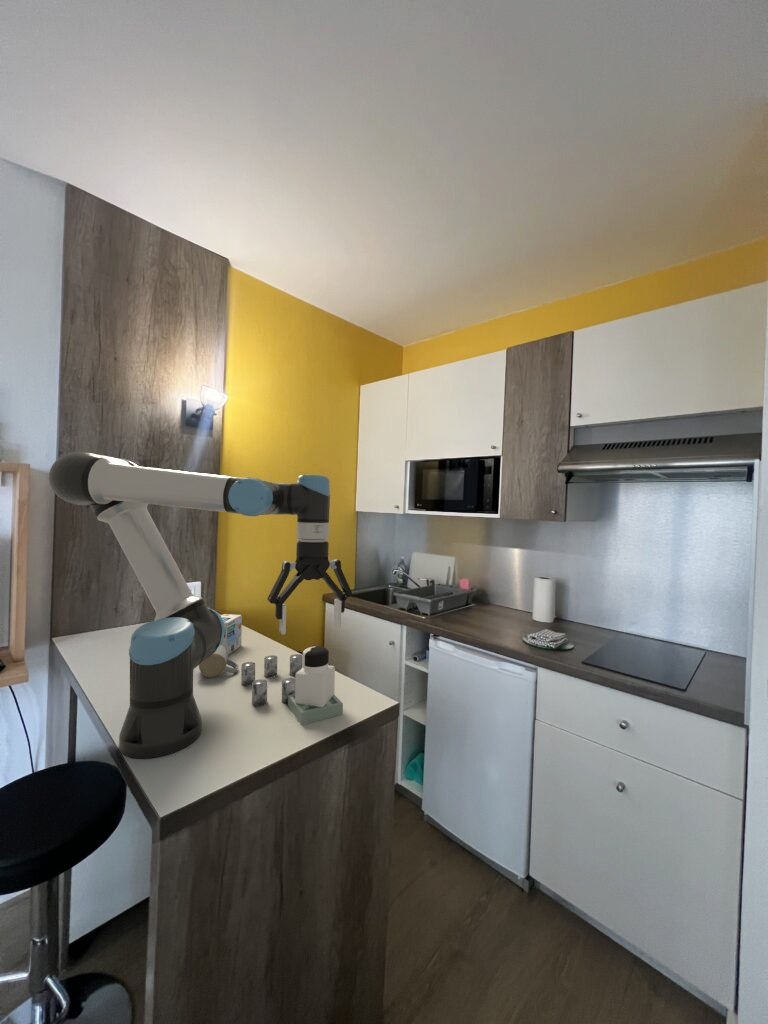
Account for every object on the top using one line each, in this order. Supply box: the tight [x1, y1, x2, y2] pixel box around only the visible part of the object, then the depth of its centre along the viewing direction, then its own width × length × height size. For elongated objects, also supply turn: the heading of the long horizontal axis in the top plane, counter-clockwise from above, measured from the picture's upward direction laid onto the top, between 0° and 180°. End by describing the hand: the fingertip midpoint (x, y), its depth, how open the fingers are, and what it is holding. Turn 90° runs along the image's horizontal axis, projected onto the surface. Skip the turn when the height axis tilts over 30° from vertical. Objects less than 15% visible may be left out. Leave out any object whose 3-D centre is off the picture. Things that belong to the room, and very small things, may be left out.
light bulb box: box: [220, 613, 243, 656], centre depth 141 cm, size 11×7×11 cm, turn 174°
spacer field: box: [240, 653, 303, 707], centre depth 112 cm, size 17×22×5 cm
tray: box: [287, 694, 344, 726], centre depth 100 cm, size 10×10×3 cm
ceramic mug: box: [198, 645, 239, 679], centre depth 121 cm, size 11×8×8 cm
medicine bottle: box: [294, 646, 336, 707], centre depth 100 cm, size 7×7×12 cm
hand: (310, 629), depth 100 cm, fingers open, 13 cm apart
